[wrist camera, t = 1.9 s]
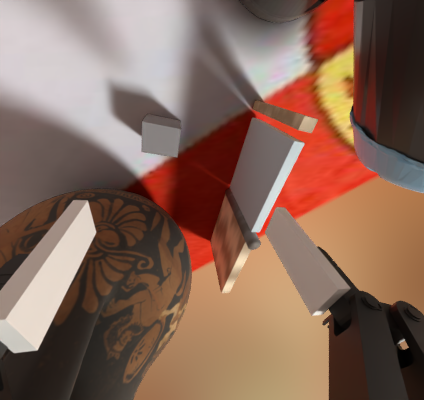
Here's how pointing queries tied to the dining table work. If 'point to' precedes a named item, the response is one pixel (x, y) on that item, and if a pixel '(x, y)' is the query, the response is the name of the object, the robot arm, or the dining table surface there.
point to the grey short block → (160, 135)
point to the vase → (103, 299)
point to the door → (262, 170)
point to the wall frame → (233, 218)
